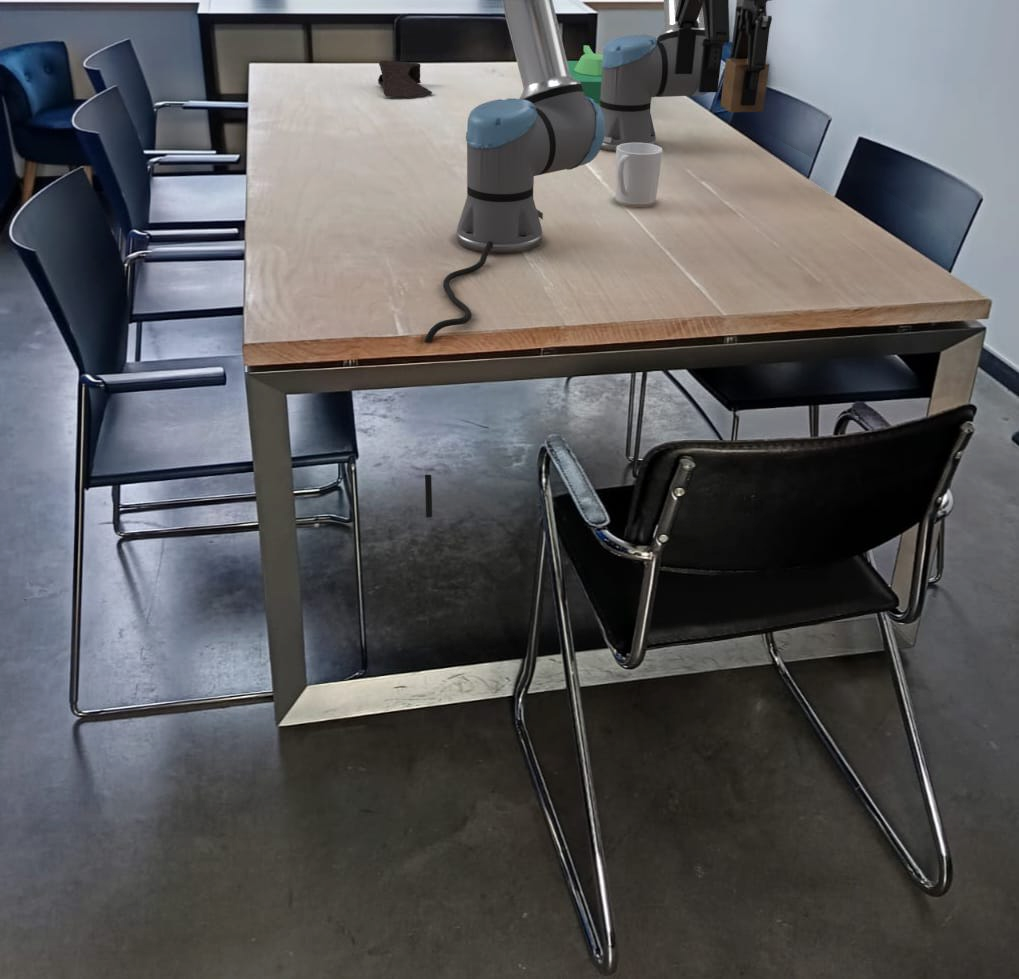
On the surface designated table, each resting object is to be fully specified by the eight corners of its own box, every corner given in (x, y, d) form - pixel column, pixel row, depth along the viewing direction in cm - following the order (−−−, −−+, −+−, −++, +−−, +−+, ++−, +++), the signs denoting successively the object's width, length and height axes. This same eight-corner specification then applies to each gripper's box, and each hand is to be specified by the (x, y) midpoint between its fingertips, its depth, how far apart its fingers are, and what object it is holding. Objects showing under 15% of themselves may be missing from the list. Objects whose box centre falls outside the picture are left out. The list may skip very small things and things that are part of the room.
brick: (752, 105, 226) (759, 58, 221) (763, 111, 221) (769, 64, 216) (720, 105, 225) (725, 58, 220) (729, 112, 220) (735, 64, 215)
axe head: (443, 87, 294) (392, 77, 287) (436, 115, 299) (385, 106, 292) (421, 62, 307) (371, 52, 300) (414, 89, 311) (365, 80, 304)
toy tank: (617, 42, 302) (635, 66, 272) (613, 88, 309) (631, 117, 279) (553, 40, 301) (564, 65, 271) (551, 87, 308) (562, 116, 278)
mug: (629, 191, 223) (633, 140, 217) (666, 200, 218) (671, 148, 212) (597, 203, 215) (601, 150, 210) (635, 213, 210) (640, 159, 205)
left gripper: (663, -80, 167) (651, 66, 178) (711, -65, 146) (693, 100, 157) (711, -80, 168) (696, 66, 179) (765, -65, 147) (744, 100, 158)
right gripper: (723, -30, 218) (709, 91, 230) (756, -17, 202) (740, 112, 214) (759, -30, 219) (743, 91, 231) (795, -17, 203) (776, 111, 215)
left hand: (695, 82), depth 168 cm, fingers open, 13 cm apart
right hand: (742, 101), depth 222 cm, fingers closed on brick, 6 cm apart
